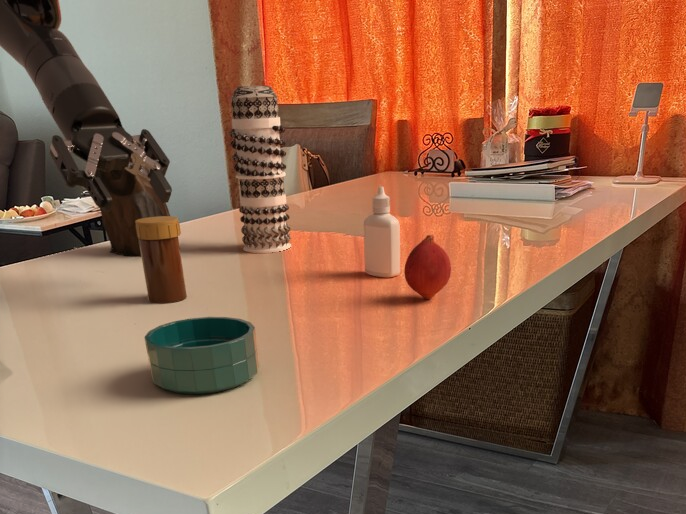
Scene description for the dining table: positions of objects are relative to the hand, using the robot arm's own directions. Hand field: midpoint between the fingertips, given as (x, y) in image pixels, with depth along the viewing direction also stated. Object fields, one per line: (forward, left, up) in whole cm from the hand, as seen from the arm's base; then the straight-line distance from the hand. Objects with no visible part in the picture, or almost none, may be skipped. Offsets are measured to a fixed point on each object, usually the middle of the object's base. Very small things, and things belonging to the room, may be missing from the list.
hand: (138, 202), depth 92 cm
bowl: (+13, -34, -12) cm, 38 cm away
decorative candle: (+13, +31, -12) cm, 36 cm away
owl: (-9, +34, -12) cm, 37 cm away
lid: (+3, -3, -2) cm, 4 cm away
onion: (+37, -8, -12) cm, 40 cm away
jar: (+2, -2, -12) cm, 12 cm away
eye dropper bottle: (+32, +7, -12) cm, 35 cm away
